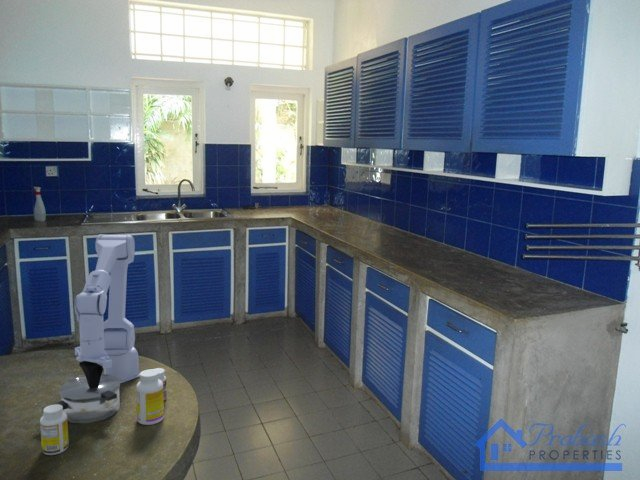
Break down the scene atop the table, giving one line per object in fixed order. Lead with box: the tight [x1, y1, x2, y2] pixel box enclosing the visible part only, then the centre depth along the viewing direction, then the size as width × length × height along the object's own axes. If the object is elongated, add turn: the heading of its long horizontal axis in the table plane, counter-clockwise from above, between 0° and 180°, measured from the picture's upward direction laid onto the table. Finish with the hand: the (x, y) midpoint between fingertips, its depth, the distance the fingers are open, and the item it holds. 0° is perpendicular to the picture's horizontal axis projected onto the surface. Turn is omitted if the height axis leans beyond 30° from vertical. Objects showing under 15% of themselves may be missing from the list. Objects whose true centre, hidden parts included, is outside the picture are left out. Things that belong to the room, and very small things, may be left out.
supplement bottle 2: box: [135, 368, 165, 426], centre depth 131 cm, size 7×7×13 cm
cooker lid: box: [59, 373, 121, 401], centre depth 134 cm, size 15×18×1 cm
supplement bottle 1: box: [39, 404, 70, 456], centre depth 117 cm, size 6×6×10 cm
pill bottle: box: [154, 367, 168, 401], centre depth 143 cm, size 5×5×8 cm
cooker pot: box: [41, 388, 121, 424], centre depth 134 cm, size 19×14×6 cm
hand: (94, 387), depth 134 cm, fingers closed
